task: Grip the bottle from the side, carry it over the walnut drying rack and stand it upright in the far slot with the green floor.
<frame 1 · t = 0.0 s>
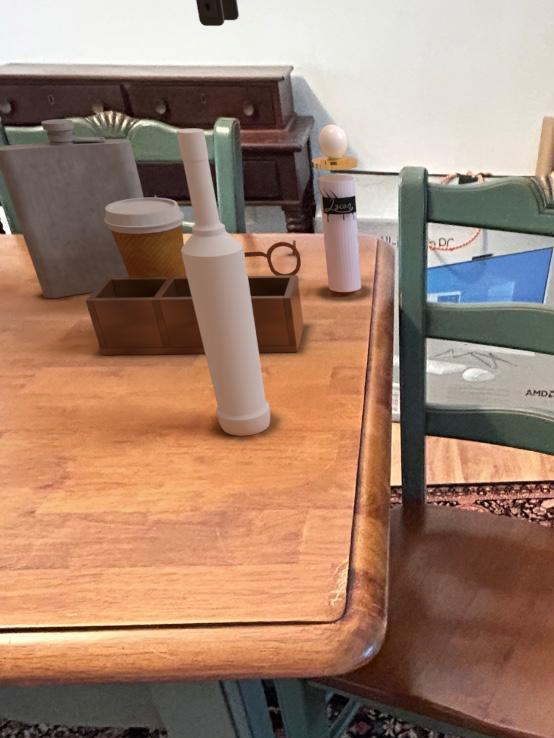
hand: (220, 22, 72), 30 cm above the table, tool pointing down, fingers open, 8 cm apart
perfume bottle: (345, 293, 103), on the table
bottle: (246, 426, 73), on the table
hip flask: (105, 289, 104), on the table
rack: (207, 340, 90), on the table
disposable coffee cup: (165, 305, 99), on the table
glasses: (256, 270, 111), on the table
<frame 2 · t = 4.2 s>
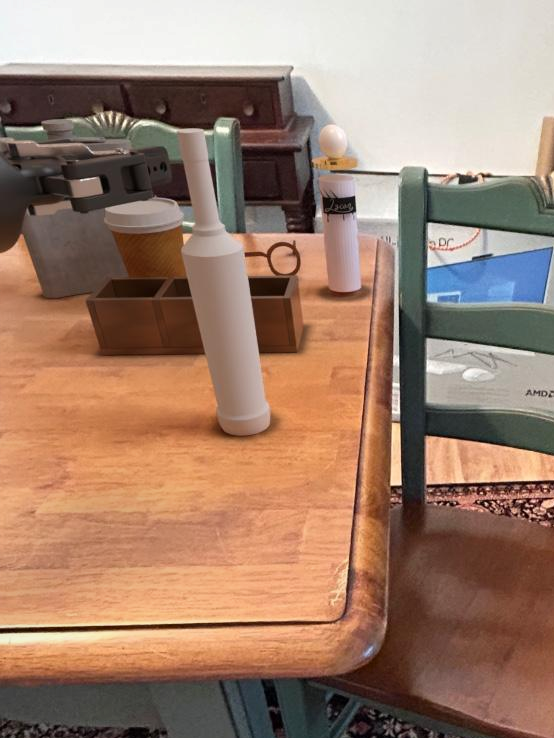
hand: (118, 159, 52), 24 cm above the table, tool horizontal, fingers open, 8 cm apart
nothing on the table moved.
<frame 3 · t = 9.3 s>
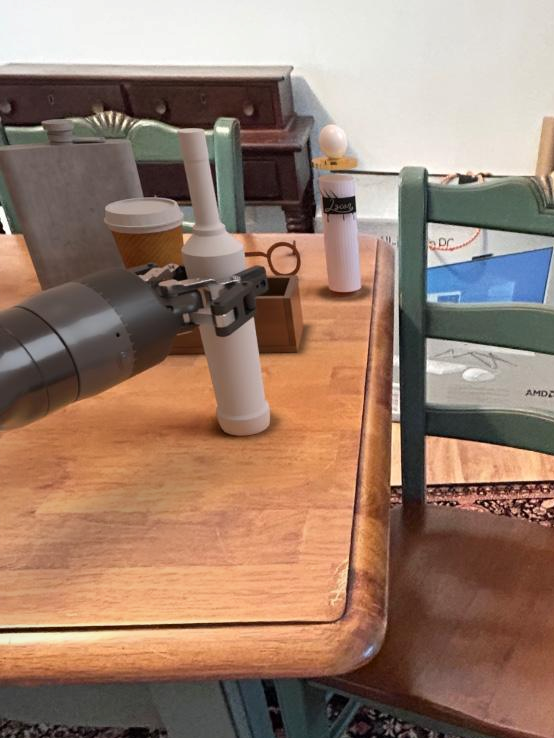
hand: (237, 272, 66), 14 cm above the table, tool horizontal, fingers closed on bottle, 5 cm apart
bottle: (246, 426, 73), on the table, touching gripper
everything else where it was.
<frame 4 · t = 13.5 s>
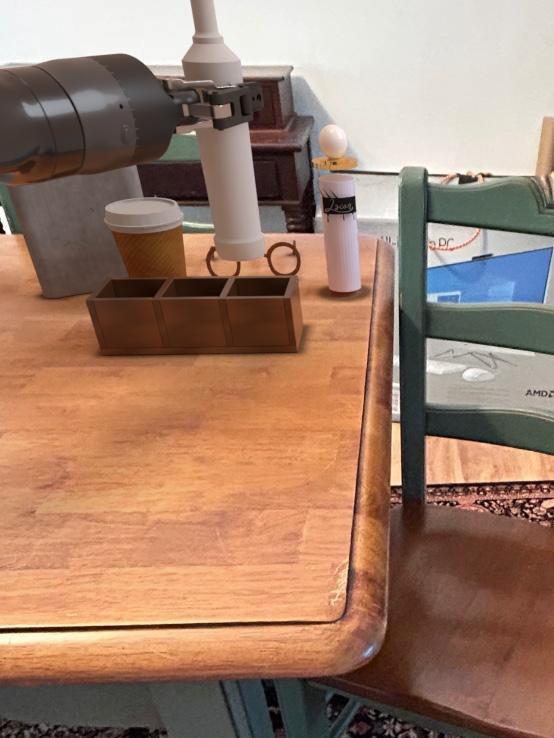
hand: (234, 93, 70), 26 cm above the table, tool horizontal, fingers closed on bottle, 5 cm apart
bottle: (242, 256, 77), point 12 cm above the table, touching gripper
everything else where it was.
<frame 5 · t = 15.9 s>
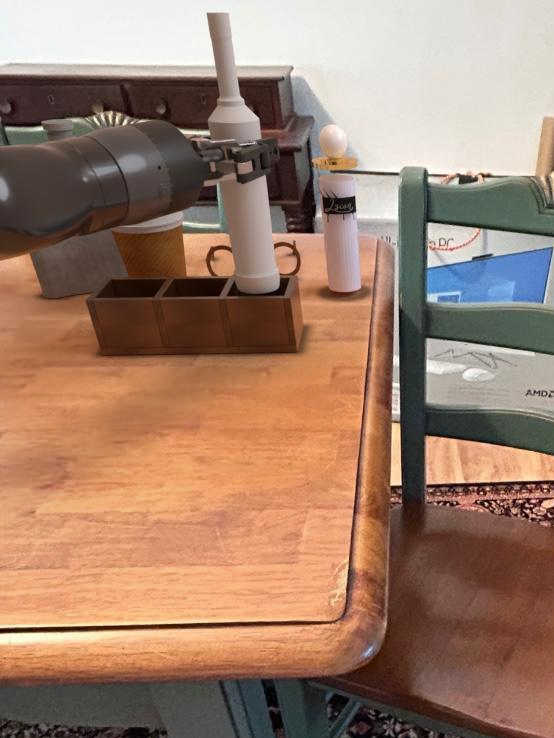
hand: (253, 146, 78), 20 cm above the table, tool horizontal, fingers closed on bottle, 5 cm apart
bottle: (259, 288, 86), point 6 cm above the table, touching gripper
everything else where it was.
when the fingers open (15 cm above the table, at t = 17.9 s): bottle stays where it is, resting on rack.
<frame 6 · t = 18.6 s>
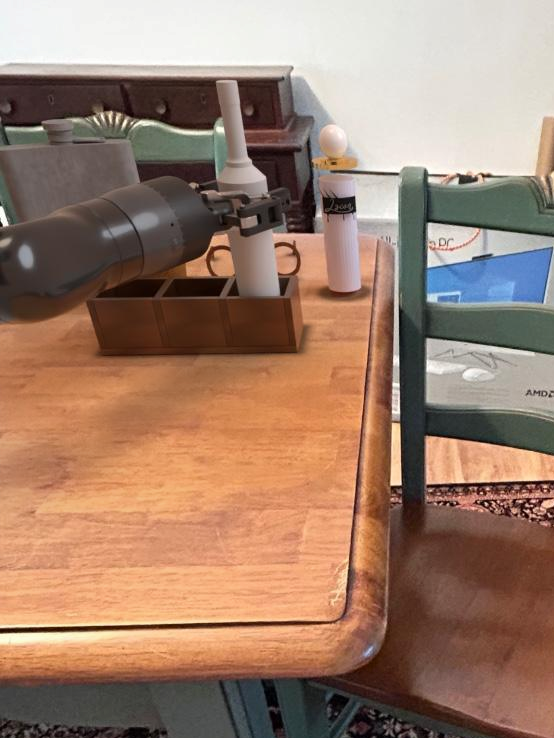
hand: (256, 193, 81), 16 cm above the table, tool horizontal, fingers open, 8 cm apart
bottle: (266, 333, 89), point 1 cm above the table, touching rack
everything else where it was.
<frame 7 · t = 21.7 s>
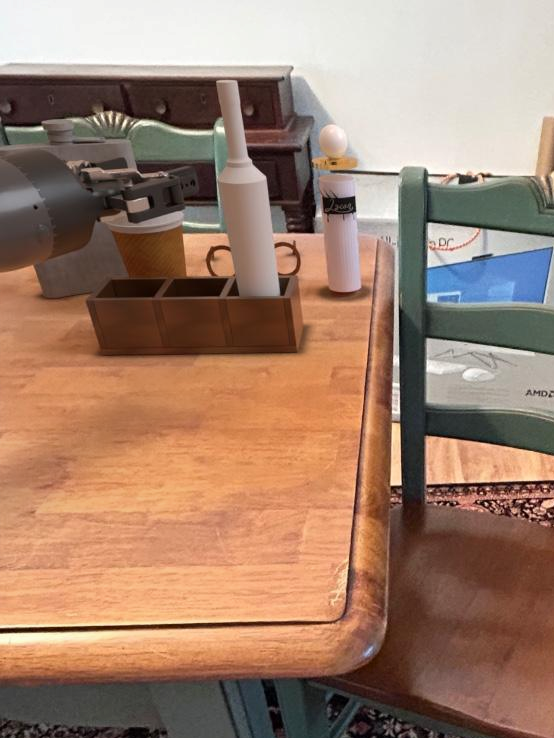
hand: (159, 174, 69), 20 cm above the table, tool horizontal, fingers open, 8 cm apart
nothing on the table moved.
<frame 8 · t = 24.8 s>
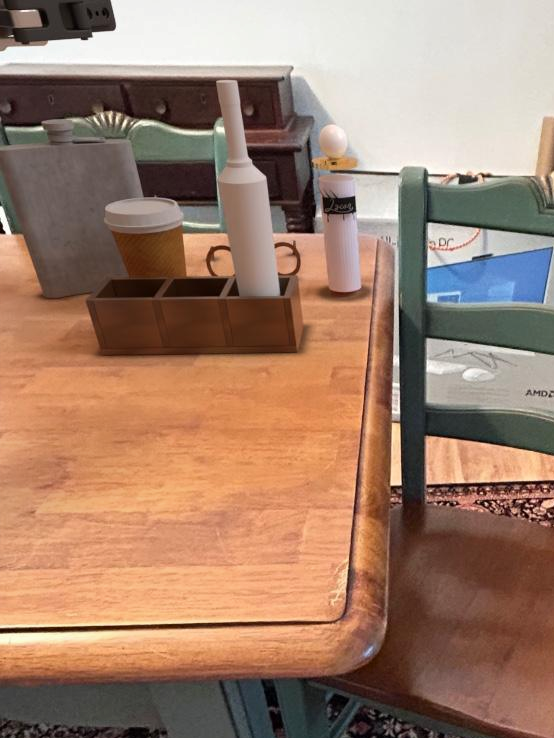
hand: (69, 10, 57), 32 cm above the table, tool horizontal, fingers open, 8 cm apart
nothing on the table moved.
at the end: bottle 0.2 cm from the target spot in the rack, point 0.8 cm above the rack's base; bottle tilted 0°; the gripper is holding nothing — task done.
